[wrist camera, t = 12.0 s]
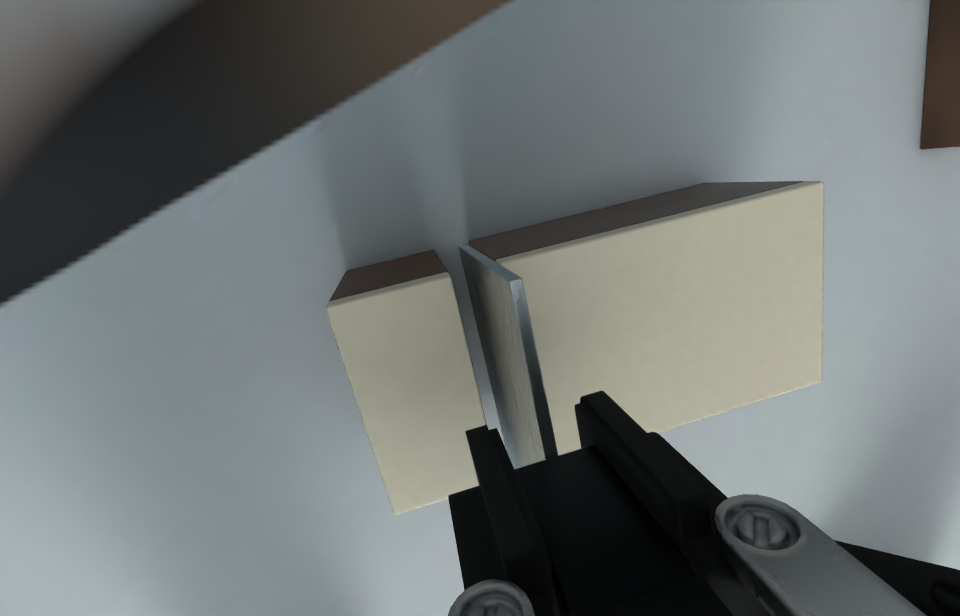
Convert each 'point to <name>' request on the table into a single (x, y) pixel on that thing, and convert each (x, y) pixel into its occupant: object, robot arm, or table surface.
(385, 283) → the cake slice
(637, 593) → the metal dough scraper
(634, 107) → the table surface
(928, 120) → the knife stand
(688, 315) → the cake
